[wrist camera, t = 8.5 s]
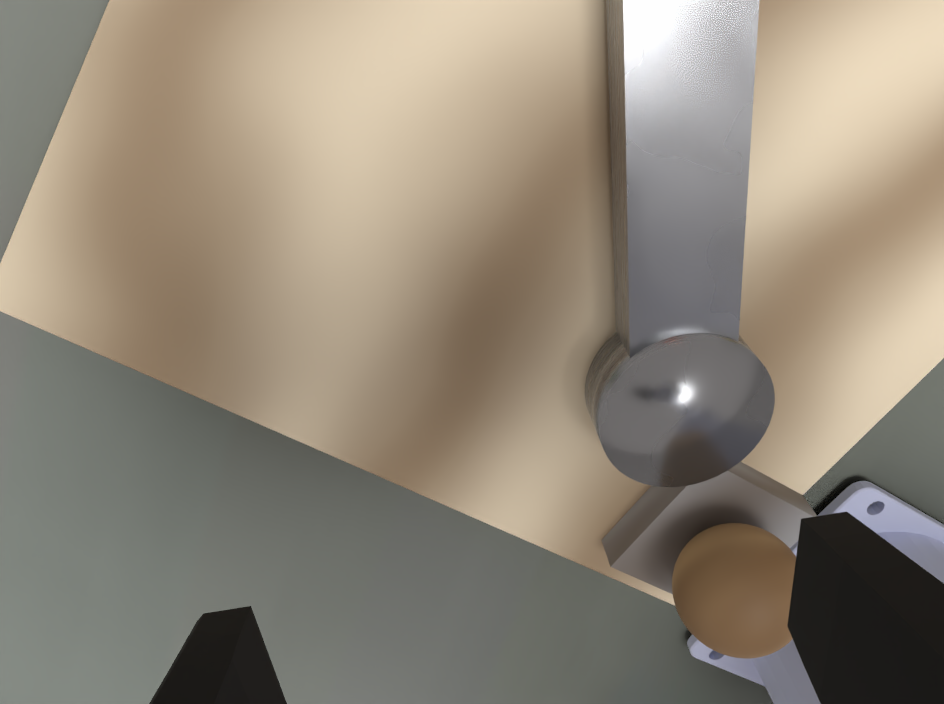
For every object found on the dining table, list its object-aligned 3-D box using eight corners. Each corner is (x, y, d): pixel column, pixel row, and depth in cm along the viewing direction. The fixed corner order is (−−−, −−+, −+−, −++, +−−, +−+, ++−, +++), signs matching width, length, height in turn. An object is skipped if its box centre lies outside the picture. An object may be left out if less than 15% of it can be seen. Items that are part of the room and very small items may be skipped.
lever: (742, 435, 20) (857, 606, 15) (588, 460, 20) (654, 639, 15) (805, -444, 12) (1097, -676, 7) (541, -411, 12) (653, -622, 7)
